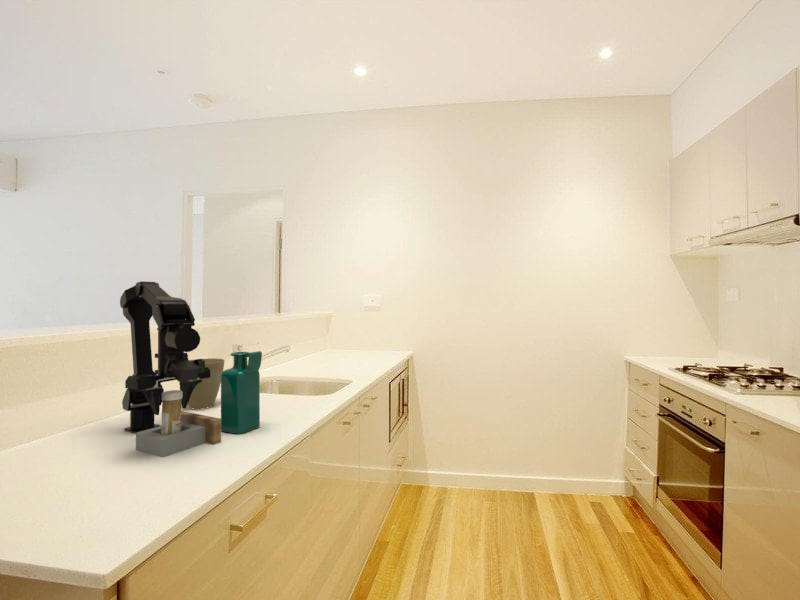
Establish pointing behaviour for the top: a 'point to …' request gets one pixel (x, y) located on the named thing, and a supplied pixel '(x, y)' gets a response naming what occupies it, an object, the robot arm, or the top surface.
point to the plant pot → (207, 385)
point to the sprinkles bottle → (171, 412)
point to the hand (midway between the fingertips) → (170, 411)
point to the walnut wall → (205, 425)
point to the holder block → (170, 439)
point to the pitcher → (241, 394)
